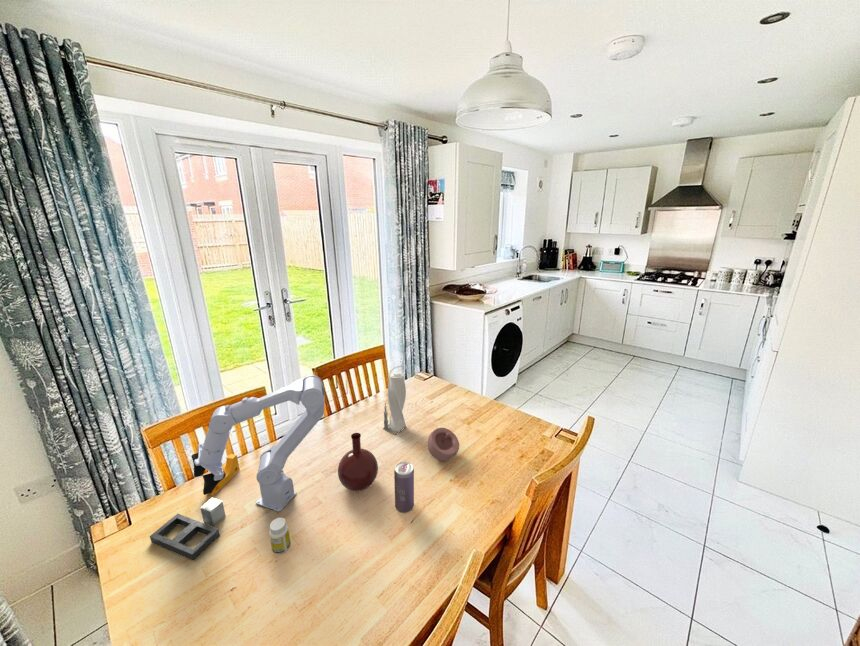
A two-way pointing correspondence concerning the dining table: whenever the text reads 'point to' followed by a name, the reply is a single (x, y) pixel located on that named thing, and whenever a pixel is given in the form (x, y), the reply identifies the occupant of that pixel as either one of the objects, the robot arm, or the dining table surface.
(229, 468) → the pipe clamp
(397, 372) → the skyscraper
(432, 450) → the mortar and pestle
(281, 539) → the supplement bottle
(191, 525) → the dark grey flat frame
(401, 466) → the beverage can
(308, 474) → the dining table surface
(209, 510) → the block
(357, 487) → the round-bottom flask
